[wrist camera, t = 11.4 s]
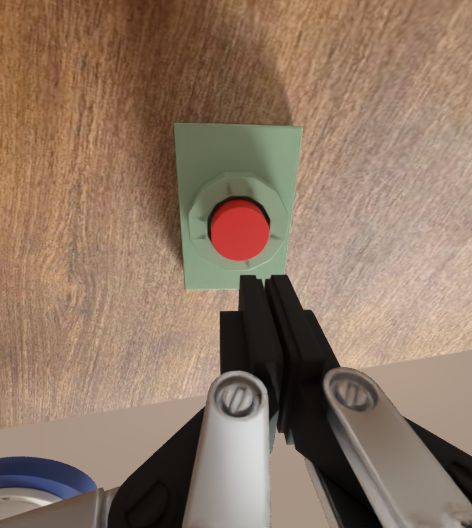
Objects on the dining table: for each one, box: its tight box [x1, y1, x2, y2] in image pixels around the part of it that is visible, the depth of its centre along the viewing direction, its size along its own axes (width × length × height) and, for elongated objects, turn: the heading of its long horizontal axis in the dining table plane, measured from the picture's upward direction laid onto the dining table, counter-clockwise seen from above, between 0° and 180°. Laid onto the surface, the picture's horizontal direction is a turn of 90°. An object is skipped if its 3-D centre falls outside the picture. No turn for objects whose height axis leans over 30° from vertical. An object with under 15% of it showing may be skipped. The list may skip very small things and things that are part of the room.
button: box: [211, 199, 269, 261], centre depth 18 cm, size 4×4×2 cm
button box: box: [174, 122, 303, 290], centre depth 20 cm, size 12×8×4 cm, turn 178°
